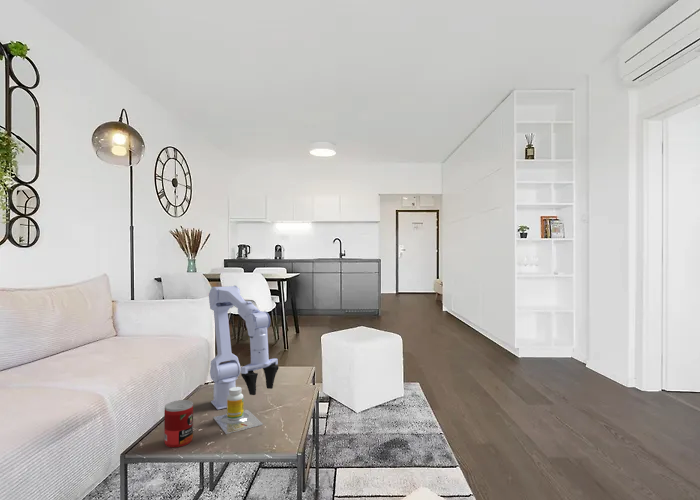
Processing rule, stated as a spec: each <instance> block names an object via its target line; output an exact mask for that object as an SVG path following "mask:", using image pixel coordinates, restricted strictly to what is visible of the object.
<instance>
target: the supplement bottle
mask: <svg viewBox="0 0 700 500" xmlns="http://www.w3.org/2000/svg"><path fill="white" fill-rule="evenodd" d="M242 389H243V388H242V387H241V386H236V387H232V388H230V389H229V394H230V395H228V397H227V408H226V414H227V419H229V420H239V419H241V418H242V417H243V414H244V413H243V412H244V410H245V409H244V407H245V405H244V404H245V403H244V402H245V401H244V394H243V393H242Z"/></svg>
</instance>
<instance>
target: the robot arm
mask: <svg viewBox="0 0 700 500" xmlns="http://www.w3.org/2000/svg"><path fill="white" fill-rule="evenodd" d="M208 300H209V309H210V310H212V311H213V317H214V319H213V320H214V329H215V330H214V331H215V340H216V349H217V350H216V351H217V354H216V355H215V357H214V358H213V359H212V360H211V361H210V370H209V374H210V375H209V376H210V379H211V380H212V382H213V400H211V401H210V403H211V404H212V405H213V406H214V407H215V409H216V410H222V409H227V397H228V395H230V394H229V389H230V388H232V387H237V386H236V381H237V380H238V377H239V376H240V375H241V377H242V379H243V381H244V382H245V384H246V387H247V390H248V393H249V395H250V396H255V395H256V394H257V379H258V374H259V373H258V372H257V373H256V372H254V371H258V370H261V369H262V370H263V372H264V376H265V385H266V389H271V390H272V389H273V388H274V383H275V377H276V375H277V372H278V370H279V369H280V368H279V363H278V362H279V361H278V358H275V357H274V358H270V356H269V337H268V329H269V328H270V326H271V317H270V314H269V313H268V311H266V310H264V311H263V310H259V308H258V307H257V306H255V304H254V303H253V302H252V301H251V300H245V299H244V298H243V296H242V295H241V290H240V287H238V286H237V285H229V286H228V285H227V286H212V287H211V288H210V290H209V293H208ZM233 307H236V309H237V313H238V316H240V317H241V318H242V319H243V320H244V321H245V327H246V330H247V336H249V346H250V363H248V364H246V365H244V366H241V364H240V361H239V358H238V356H237V355H235V354H234V353H232V352H233V351H232V345H231V344H232V343H231V334H230V325H229V323H230V322H229V314H228V313H229V310H230V309H231V308H233ZM269 358H270V359H269Z"/></svg>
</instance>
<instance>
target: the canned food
mask: <svg viewBox="0 0 700 500" xmlns="http://www.w3.org/2000/svg"><path fill="white" fill-rule="evenodd" d="M163 412H164V424H163V425H164V426H163V427H164V434H163V435H164V438H163V439H164V445H165V446H166V447H168V448H181V447H184V446H187V445H188V444H190V443H191V442H192V441H193V438H194V402H193V400H188V399H179V400H174V401H171V402H168V403H166V404H165V405H164V411H163Z"/></svg>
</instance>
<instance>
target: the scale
mask: <svg viewBox="0 0 700 500" xmlns="http://www.w3.org/2000/svg"><path fill="white" fill-rule="evenodd" d="M243 413H244V414H243V417H242V418H241V419H239V420H229V419H227V413H225V414H222V415H217V416H213V417H212V418H213V419H214V421H215V422H216V424H217V425H218V426H219V427H220V428H221V430H222V431H223V432H224V433H225V435H228V434H231V433H236V432H239V431H244V430H248V429H252V428H256V427H259V426H263V425H264V423H263V422H262V421H260V420H259V419H258V417H256V416H255V415H254V414H253V413H252V412H251V411H250V410H249V409H244V412H243Z"/></svg>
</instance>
